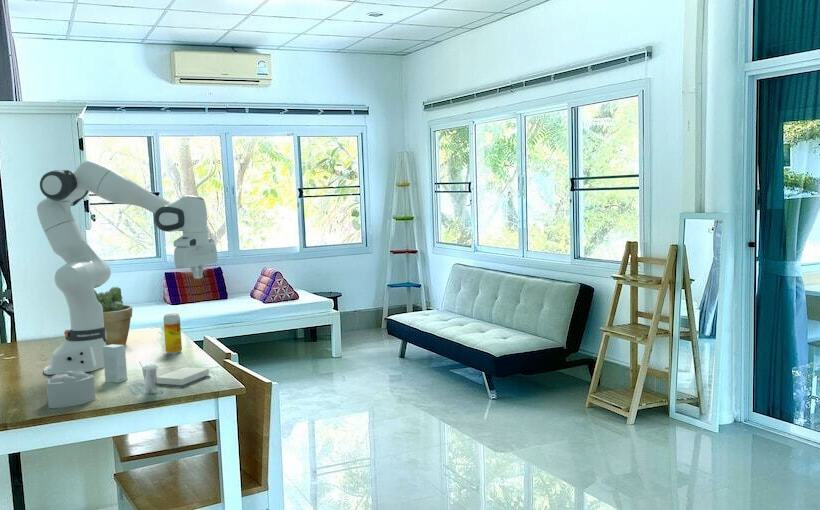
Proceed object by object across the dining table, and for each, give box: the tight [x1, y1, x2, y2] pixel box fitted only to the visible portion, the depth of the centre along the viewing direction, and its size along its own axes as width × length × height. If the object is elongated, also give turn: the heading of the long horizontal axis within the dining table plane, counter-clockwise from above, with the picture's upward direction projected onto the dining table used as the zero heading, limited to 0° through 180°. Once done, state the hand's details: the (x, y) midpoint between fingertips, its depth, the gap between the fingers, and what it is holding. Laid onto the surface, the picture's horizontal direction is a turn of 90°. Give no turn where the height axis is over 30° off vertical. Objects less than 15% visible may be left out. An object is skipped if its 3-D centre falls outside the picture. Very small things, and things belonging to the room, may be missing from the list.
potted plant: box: [94, 286, 133, 346], centre depth 308 cm, size 18×19×25 cm
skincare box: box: [103, 344, 128, 384], centre depth 249 cm, size 6×4×12 cm
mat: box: [157, 375, 211, 388], centre depth 246 cm, size 14×12×1 cm
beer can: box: [163, 313, 183, 355], centre depth 290 cm, size 6×6×15 cm
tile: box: [157, 366, 210, 385], centre depth 247 cm, size 2×10×14 cm
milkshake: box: [138, 361, 158, 395], centre depth 232 cm, size 4×5×10 cm
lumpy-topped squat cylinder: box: [46, 371, 96, 409], centre depth 226 cm, size 10×13×9 cm
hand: (198, 278), depth 269 cm, fingers closed
